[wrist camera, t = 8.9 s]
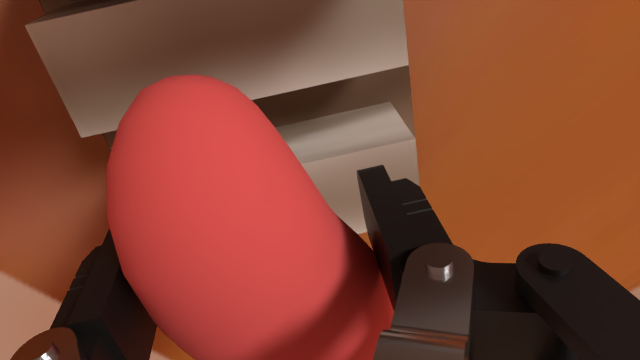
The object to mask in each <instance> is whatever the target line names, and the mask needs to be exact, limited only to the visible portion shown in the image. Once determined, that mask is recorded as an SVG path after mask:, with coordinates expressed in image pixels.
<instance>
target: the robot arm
mask: <svg viewBox="0 0 640 360" xmlns="http://www.w3.org/2000/svg"><path fill="white" fill-rule="evenodd" d="M357 179H358V185H359V191H360V197H361V202H362V208H363V214H364V219H365V224H366V228H367V232H368V236H369V239H370V242H371V245H372V248H373V251H374V254H375V257H376V259H377V262H378V266H379V269H380V272H381V275H382V278H383V281H384V284H385V287H386V290H387V293H388V296H389V299H390V302H391V305H392V308H393V310H394V314H393V319H392V323H391V327H390V329H389V330H385V329H384V330H382V332H381V333H380V336H379V338H378V342H377V346H376V349H375V353H374V357H373V360H640V300H638V299H637V298H636V297H635V296H634V295H632V294H631V293H630V292H629V291H628V290H626V289H625V288H624V287H623V286H621V285H620V284H619V283H618V282H617V281H615V280H614V279H613V278H612V277H610V276H609V275H608V274H607V273H606V272H604V271H603V270H602V269H601V268H599V267H598V266H597V265H596V264H595V263H593V262H592V261H591V260H590V259H588V258H587V257H586V256H585V255H583V254H582V253H580V252H579V251H577V250H575V249H573V248H570V247H567V246H564V245H559V244H550V243H547V244H537V245H533V246H530V247H528V248H526V249H525V250H523V251H522V252H521V253H520V254H519V255H518V257H517V260H516V263H486V262H480V261H477V260H473V259H472V258H471V256H470V255H469V254H468V253H467V252H466V251H465V250H464V249H462V248H460V247H458V246H455V245H453V244H452V242H451V240H450V238H449V237H448V235H447V233H446V231H445V230H444V228H443V226H442V225H441V223H440V221H439V219H438V218H437V216H436V214H435V212H434V211H433V210H432V207H431V205H430V204H429V202H428V200H427V199H426V197H425V195H424V193H423V191H422V190H421V188H420V186H418V185H417V184H415V183H413V182H412V181H410V180H409V179H407V178H404V179H399V180H395V181H391V180H390V177H389V175H388V173H387V171H386V169H385V167H384V165H379V166H374V167H370V168H365V169H361V170H357ZM156 328H157V325H156V324H155V323H154V322H153V320H152V318H151V317H150V315H149V314H148V312H147V311H146V309H145V308H144V306H143V304H142V303H141V301H140V300H139V298H138V297H137V295H136V294H135V292H134V290H133V289H132V287H131V286H130V284H129V283H128V281H127V279H126V278H125V276H124V275H123V272H122V269H121V265H120V262H119V258H118V255H117V251H116V248H115V244H114V241H113V238H112V234H111V231H110V229H109V231H108V233H107V235H106V237H105V240H104V242H103V244H102V246H98V247H96V248H95V249H94V250H93V251H92V252H91V253H90V254H89V255H88V256H87V257H86V258H85V259H84V260H83V261H82V263H81V265H80V267H79V269H78V271H77V273H76V278H75V279H74V280H73V282H72V284H71V286H70V291H68V292H67V294H66V296H65V298H64V300H63V303H62V305H61V307H60V309H59V311H58V313H57V315H56V317H55V319H54V321H53V324H52V325H51V328H50V330H47V331H44V332H42V333H40V334H38V335H36V336H34V337H33V338H32V339H30V340H29V341H27V342H26V343H25V344H23V345H22V347H20V348H19V349H18V351H16V353H15V354H14V355H13V357H12V358H11V360H149V358H150V354H151V349H152V345H153V341H154V336H155V332H156Z"/></svg>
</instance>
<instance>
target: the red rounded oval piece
mask: <svg viewBox="0 0 640 360" xmlns="http://www.w3.org/2000/svg"><path fill="white" fill-rule="evenodd" d="M107 220H108V224H109V227H110V231H111V234H112V238H113V241H114V244H115V248H116V251H117V255H118V258H119V262H120V265H121V269H122V272H123V275H124V276H125V278H126V279H127V281H128V283H129V284H130V286H131V287H132V289H133V290H134V292H135V294H136V295H137V297H138V298H139V300H140V301H141V303H142V304H143V306H144V308H145V309H146V311H147V312H148V314H149V315H150V317H151V318H152V320H153V322H154V323H155V324H156V325H157V326H158V327H159V328H160V329H161V330H162V331H163V332H164V333H165V334H166V335H167V336H168V337H169V338H170V339H171V340H172V341H173V342H175V343H176V344H177V345H178V346H179V347H180V348H181V349H183V350H184V351H185V352H186V353H187V354H189V355H190V356H191V357H192V358H194V359H195V360H373V357H374V353H375V349H376V346H377V342H378V338H379V336H380V333H381V332H382V330H384V329H385V330H389V329H390V327H391V323H392V319H393V314H394V310H393V308H392V305H391V302H390V299H389V296H388V293H387V290H386V287H385V284H384V281H383V278H382V275H381V272H380V269H379V266H378V262H377V259H376V257H375V254H374V251H373V250H372V249H371V248H370V247H369V246H368V245H367V243H366V242H365V241H364V240H363V239H362V238H361V237H360V236H359V235H358V234H357V233H356V232H355V231H354V230H353V229H352V228H351V227H349V226H348V225H347V224H346V223H345V222H344V221H343V220H342V219H341V218H339V217H338V216H337V215H336V214H335V213H334V211H333V210H332V209H331V208H330V207H329V205H328V204H327V203H326V201H325V200H324V198H323V196H322V195H321V193H320V192H319V190H318V189H317V187H316V186H315V184H314V182H313V181H312V179H311V178H310V177H309V175H308V174H307V172H306V171H305V169H304V168H303V166H302V165H301V163H300V162H299V160H298V159H297V157H296V156H295V155H294V153H293V152H292V150H291V149H290V147H289V146H288V145H287V143H286V142H285V140H284V139H283V138H282V136H281V135H280V134H279V132H278V131H277V130H276V128H275V127H274V126H273V124H272V123H271V122H270V121H269V119H268V118H267V117H266V116H265V114H264V113H263V112H262V111H261V110H260V108H259V107H258V106H257V105H256V104H255V103H254V102H253V101H252V100H250V99H249V98H248V97H247V96H246V95H245V94H243V93H242V92H241V91H240V90H239V89H237V88H236V87H234V86H232V85H230V84H227V83H225V82H223V81H220V80H218V79H216V78H213V77H209V76H204V75H180V76H170V77H166V78H164V79H162V80H160V81H158V82H156V83H154V84H152V85H149V86H147V87H145V88H143V89H142V90H141V91H139V93H138V95H137V96H136V98H135V99H134V101H133V102H132V104H131V105H130V107H129V108H128V110H127V111H126V113H125V114H124V116H123V117H122V119H121V121H120V122H119V125H118V129H117V132H116V136H115V139H114V143H113V146H112V150H111V153H110V157H109V160H108V164H107Z"/></svg>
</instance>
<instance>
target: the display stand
mask: <svg viewBox="0 0 640 360" xmlns="http://www.w3.org/2000/svg"><path fill="white" fill-rule="evenodd" d="M39 1H40V4H41V6H42V8H43V10H44V12H45V15H43V16H41V17H39V18H37V19H36V20H34V21H32V22H30V23H28V24H26V25H24V26H25V28H26V30H27V32H28V34H29V36H30V38H31V40H32V41H33V43H34V45H35V47H36V49H37V51H38V53H39V55H40V57H41V59H42V61H43V63H44V65H45V67H46V69H47V71H48V73H49V75H50V77H51V79H52V81H53V83H54V85H55V87H56V89H57V91H58V93H59V95H60V97H61V99H62V101H63V103H64V105H65V107H66V109H67V110H68V112H69V114H70V116H71V118H72V120H73V122H74V124H75V126H76V128H77V130H78V132H79V134H80V136H81V138H83V137H88V136H92V135H97V134H101V133H103V135H104V137H105V140H106V142H107V144H108V146H109V148H110V150H112V146H113V143H114V139H115V136H116V132H117V129H118V125H119V122H120V121H121V119H122V117H123V116H124V114H125V113H126V111H127V110H128V108H129V107H130V105H131V104H132V102H133V101H134V99H135V98H136V96H137V95H138V93H139V91H141V90H142V89H143V88H145V87H147V86H149V85H152V84H154V83H156V82H158V81H160V80H162V79H164V78H166V77H170V76H180V75H204V76H209V77H213V78H216V79H218V80H220V81H223V82H225V83H227V84H230V85H232V86H234V87H236V88H237V89H239V90H240V91H241V92H242V93H243V94H245V95H246V96H247V97H248V98H249V99H250V100H252V101H253V102H254V103H255V104H256V105H257V106H258V107H259V108H260V110H261V111H262V112H263V113H264V114H265V116H266V117H267V118H268V119H269V121H270V122H271V123H272V124H273V126H274V127H275V128H276V130H277V131H278V132H279V134H280V135H281V136H282V138H283V139H284V140H285V142H286V143H287V145H288V146H289V147H290V149H291V150H292V152H293V153H294V155H295V156H296V157H297V159H298V160H299V162H300V163H301V165H302V166H303V168H304V169H305V171H306V172H307V174H308V175H309V177H310V178H311V179H312V181H313V182H314V184H315V186H316V187H317V189H318V190H319V192H320V193H321V195H322V196H323V198H324V200H325V201H326V203H327V204H328V205H329V207H330V208H331V209H332V210H333V211H334V213H335V214H336V215H337V216H338V217H339V218H341V219H342V220H343V221H344V222H345V223H346V224H347V225H348V226H349V227H351V228H352V229H353V230H354V231H355V232H356V233H357V234H360V233H365V232H367V228H366V224H365V219H364V214H363V208H362V202H361V197H360V191H359V185H358V179H357V170H361V169H365V168H370V167H374V166H379V165H384V167H385V169H386V171H387V173H388V175H389V177H390V180H391V181H395V180H399V179H404V178H407V179H409V180H410V181H412V182H413V183H415V184H417V185H418V186H420V185H419V174H418V163H417V152H416V141H415V133H414V121H413V110H412V99H411V88H410V77H409V66H408V65H409V63H408V52H407V41H406V30H405V19H404V8H403V0H39Z"/></svg>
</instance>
